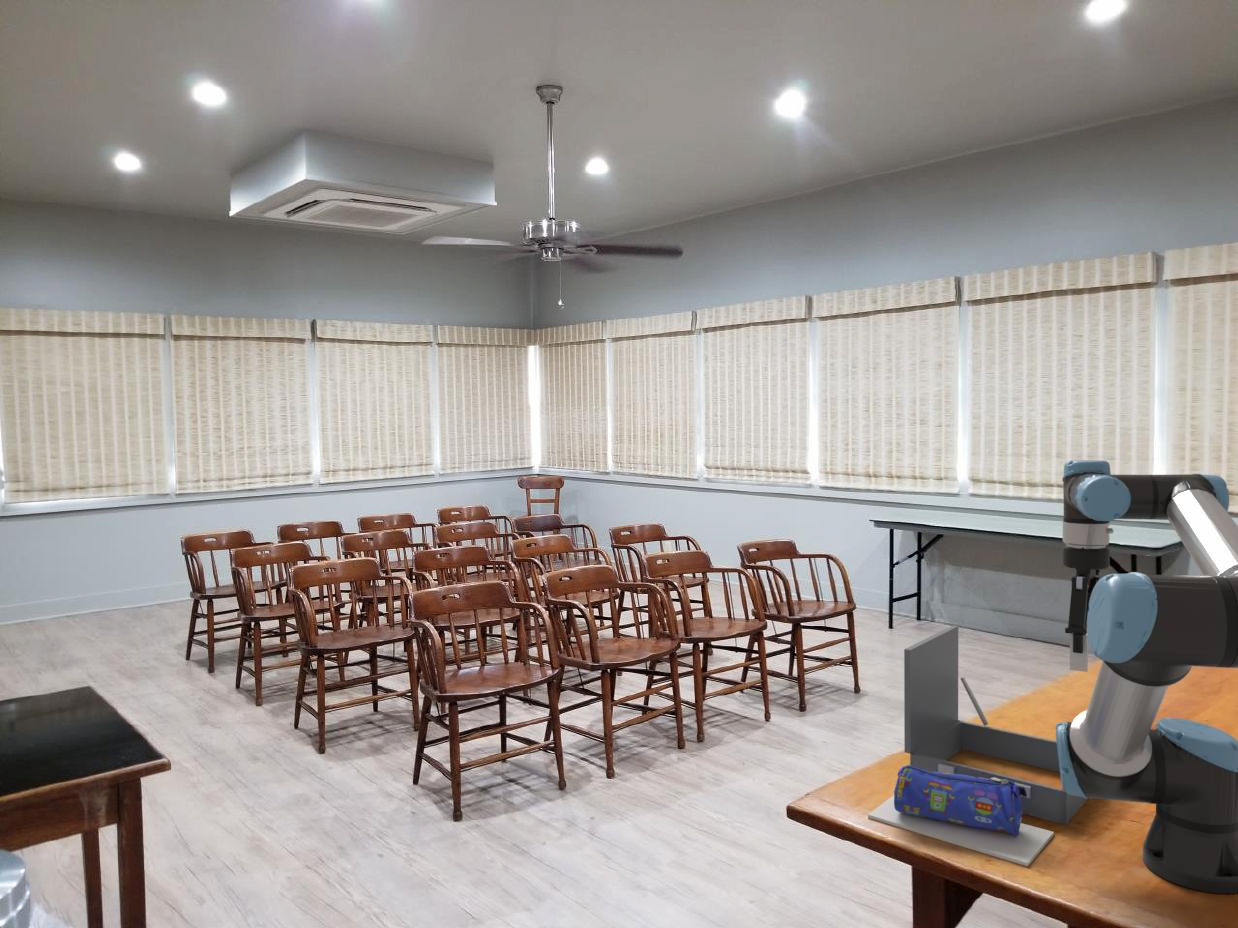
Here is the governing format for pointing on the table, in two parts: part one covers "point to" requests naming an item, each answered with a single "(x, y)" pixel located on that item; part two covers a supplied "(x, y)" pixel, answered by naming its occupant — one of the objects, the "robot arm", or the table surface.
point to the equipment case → (970, 729)
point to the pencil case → (960, 799)
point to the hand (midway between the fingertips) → (1085, 661)
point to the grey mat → (970, 834)
